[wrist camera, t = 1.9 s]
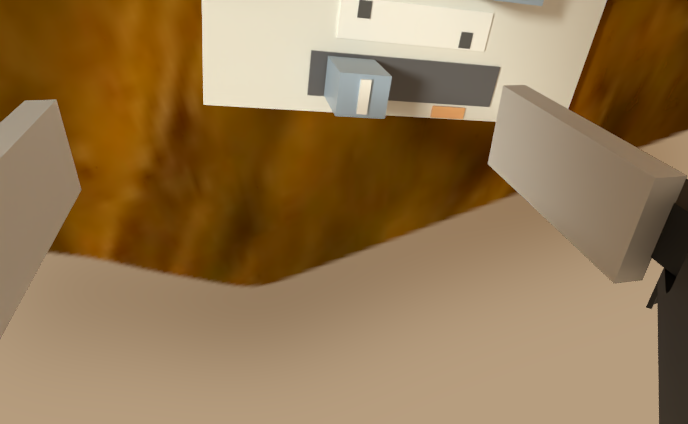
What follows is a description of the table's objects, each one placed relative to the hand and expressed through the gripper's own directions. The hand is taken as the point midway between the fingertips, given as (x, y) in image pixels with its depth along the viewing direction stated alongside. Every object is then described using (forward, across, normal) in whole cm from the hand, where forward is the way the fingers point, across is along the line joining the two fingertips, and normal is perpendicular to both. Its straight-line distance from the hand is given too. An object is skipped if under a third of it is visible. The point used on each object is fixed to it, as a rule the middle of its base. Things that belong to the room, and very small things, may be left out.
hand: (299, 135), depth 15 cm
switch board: (+19, +10, 0) cm, 21 cm away
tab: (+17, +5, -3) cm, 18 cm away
